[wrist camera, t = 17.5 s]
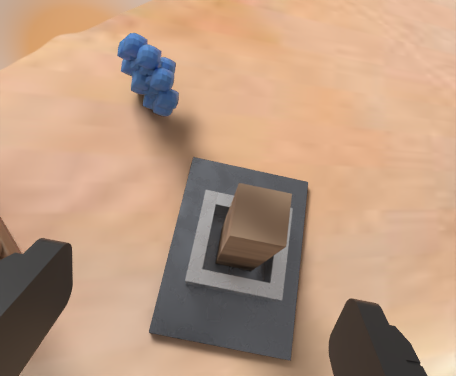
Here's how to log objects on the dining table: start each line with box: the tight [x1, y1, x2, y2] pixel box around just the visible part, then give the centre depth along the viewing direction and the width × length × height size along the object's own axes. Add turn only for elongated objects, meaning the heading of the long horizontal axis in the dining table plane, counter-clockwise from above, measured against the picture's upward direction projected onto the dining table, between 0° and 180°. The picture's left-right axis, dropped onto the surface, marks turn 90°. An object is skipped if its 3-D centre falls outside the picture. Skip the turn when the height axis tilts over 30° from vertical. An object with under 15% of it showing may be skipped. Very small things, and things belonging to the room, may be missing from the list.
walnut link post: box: [215, 183, 292, 271], centre depth 33 cm, size 4×4×15 cm
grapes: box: [118, 33, 179, 116], centre depth 42 cm, size 12×7×12 cm, turn 39°
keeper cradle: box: [149, 157, 308, 361], centre depth 39 cm, size 22×16×5 cm
